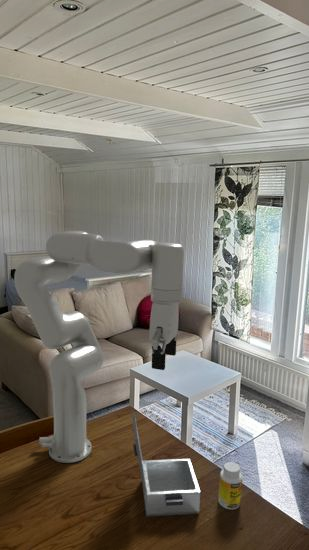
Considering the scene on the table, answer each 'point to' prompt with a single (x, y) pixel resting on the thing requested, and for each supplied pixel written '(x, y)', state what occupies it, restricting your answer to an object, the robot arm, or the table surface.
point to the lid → (138, 452)
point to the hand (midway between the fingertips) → (164, 361)
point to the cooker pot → (170, 487)
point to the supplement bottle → (230, 486)
